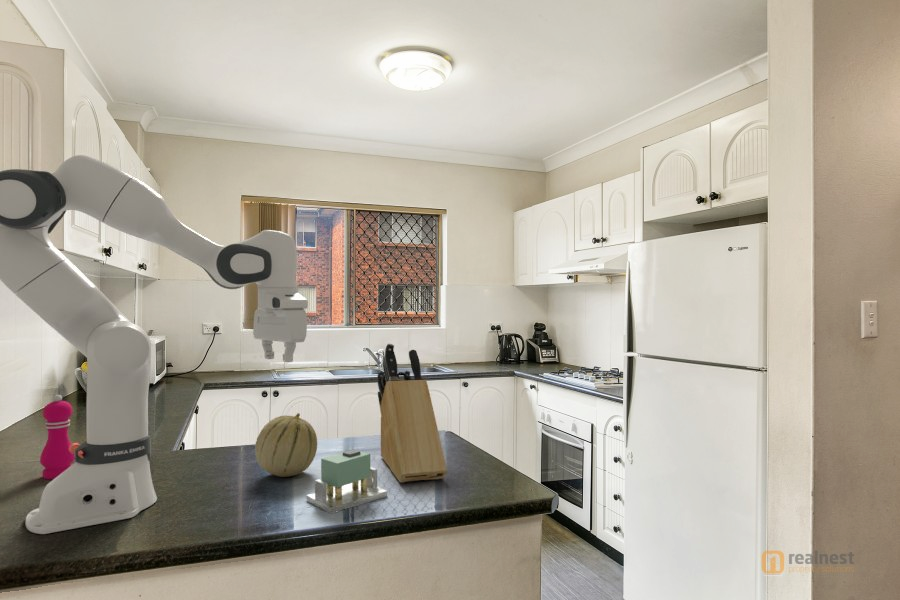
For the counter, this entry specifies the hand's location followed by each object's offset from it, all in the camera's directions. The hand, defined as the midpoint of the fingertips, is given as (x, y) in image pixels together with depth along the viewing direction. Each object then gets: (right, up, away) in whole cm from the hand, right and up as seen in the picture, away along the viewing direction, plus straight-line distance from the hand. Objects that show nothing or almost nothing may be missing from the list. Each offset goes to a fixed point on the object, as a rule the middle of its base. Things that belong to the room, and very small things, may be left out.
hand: (278, 360), depth 126 cm
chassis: (+18, -29, -8) cm, 35 cm away
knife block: (+29, -29, +16) cm, 44 cm away
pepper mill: (-58, -30, +9) cm, 65 cm away
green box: (+17, -25, -8) cm, 31 cm away
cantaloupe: (0, -29, +8) cm, 30 cm away
